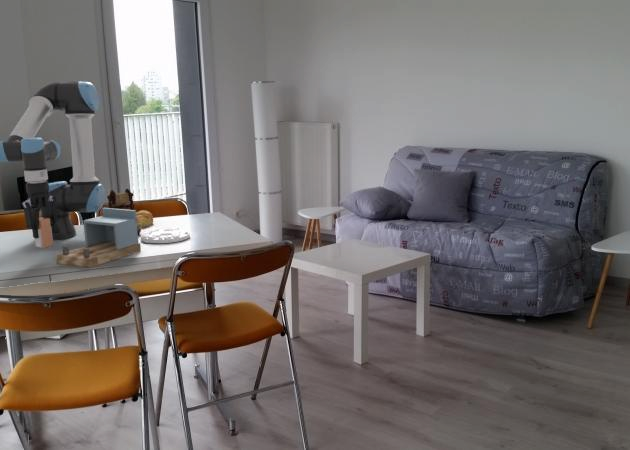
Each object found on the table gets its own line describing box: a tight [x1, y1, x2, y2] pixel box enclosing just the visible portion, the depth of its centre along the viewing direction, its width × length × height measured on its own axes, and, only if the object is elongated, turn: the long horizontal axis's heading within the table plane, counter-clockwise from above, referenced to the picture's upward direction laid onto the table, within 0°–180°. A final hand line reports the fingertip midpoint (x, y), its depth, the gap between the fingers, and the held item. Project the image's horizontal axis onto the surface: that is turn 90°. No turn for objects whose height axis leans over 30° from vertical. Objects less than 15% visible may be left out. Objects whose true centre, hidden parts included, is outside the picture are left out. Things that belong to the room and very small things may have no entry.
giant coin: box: [140, 227, 190, 244], centre depth 263 cm, size 20×20×3 cm
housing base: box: [55, 241, 142, 268], centre depth 234 cm, size 16×26×6 cm, turn 154°
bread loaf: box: [136, 209, 154, 229], centre depth 293 cm, size 21×10×8 cm, turn 10°
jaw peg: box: [35, 217, 54, 248], centre depth 229 cm, size 4×4×10 cm
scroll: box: [107, 188, 142, 237], centre depth 269 cm, size 15×15×20 cm
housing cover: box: [82, 207, 139, 250], centre depth 239 cm, size 16×11×13 cm
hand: (44, 244), depth 230 cm, fingers closed on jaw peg, 4 cm apart
